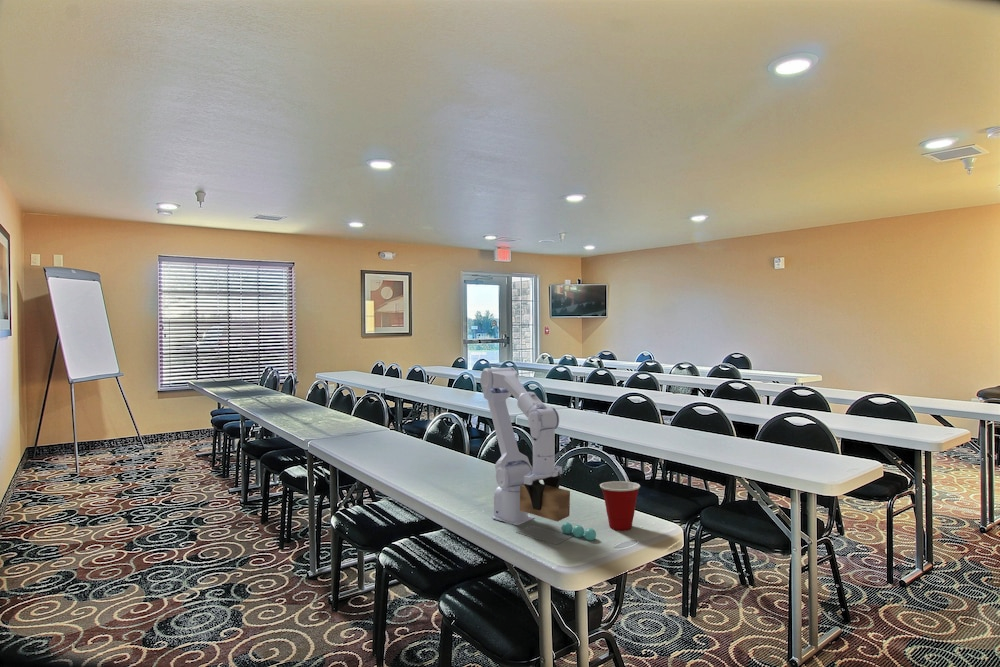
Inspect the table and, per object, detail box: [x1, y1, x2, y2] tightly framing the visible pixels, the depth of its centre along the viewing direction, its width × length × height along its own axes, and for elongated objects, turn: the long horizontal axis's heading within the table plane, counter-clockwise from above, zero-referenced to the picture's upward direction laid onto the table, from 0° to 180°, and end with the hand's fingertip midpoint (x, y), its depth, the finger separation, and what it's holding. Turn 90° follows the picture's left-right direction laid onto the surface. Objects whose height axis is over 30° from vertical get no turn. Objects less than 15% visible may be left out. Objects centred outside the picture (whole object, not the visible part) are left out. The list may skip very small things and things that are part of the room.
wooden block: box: [520, 485, 571, 522], centre depth 145 cm, size 12×6×6 cm, turn 50°
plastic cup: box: [599, 480, 641, 532], centre depth 151 cm, size 11×11×12 cm
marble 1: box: [560, 521, 574, 535], centre depth 146 cm, size 3×3×3 cm
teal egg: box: [583, 527, 597, 541], centre depth 142 cm, size 3×3×3 cm
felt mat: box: [515, 524, 573, 546], centre depth 145 cm, size 13×7×1 cm, turn 50°
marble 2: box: [572, 525, 585, 538], centre depth 144 cm, size 3×3×3 cm
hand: (543, 506), depth 145 cm, fingers closed on wooden block, 5 cm apart
